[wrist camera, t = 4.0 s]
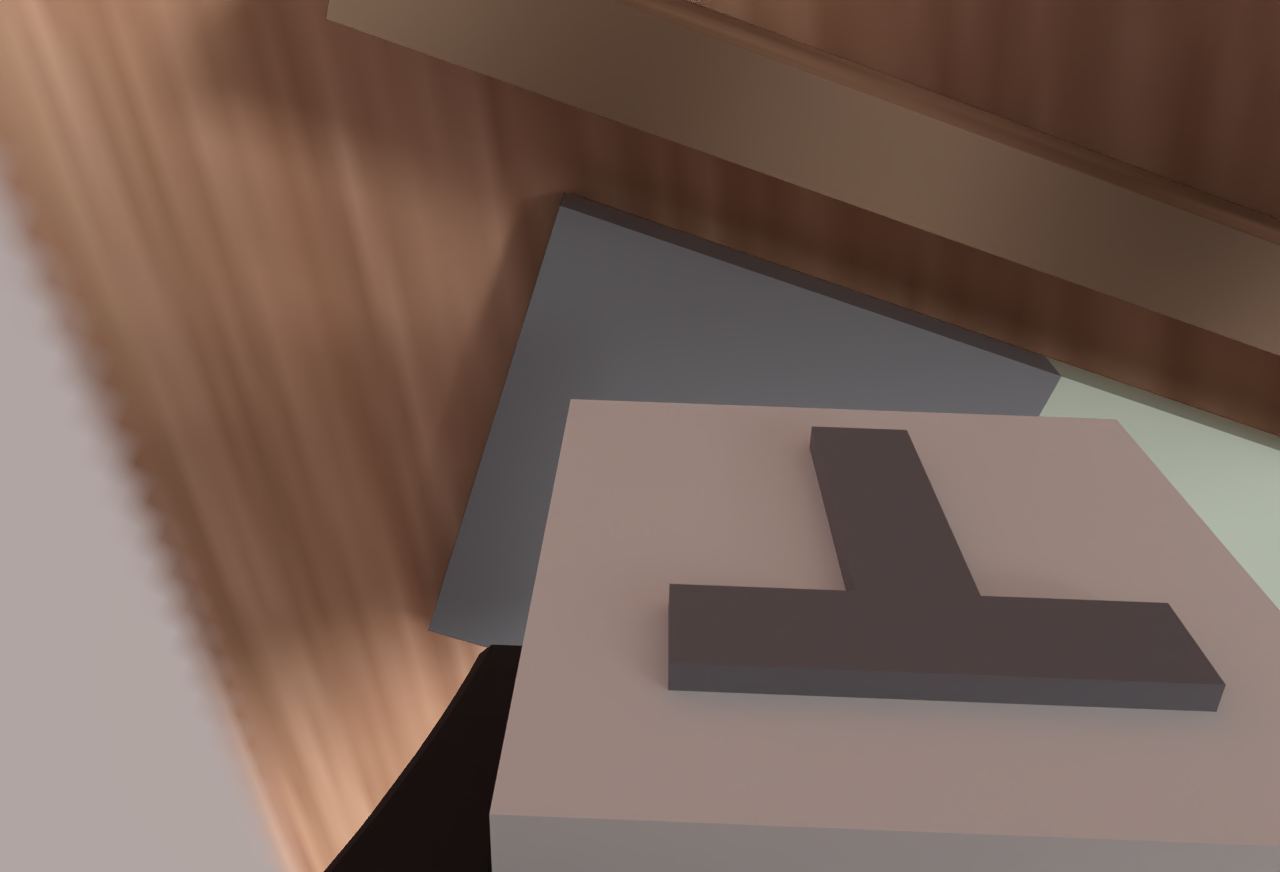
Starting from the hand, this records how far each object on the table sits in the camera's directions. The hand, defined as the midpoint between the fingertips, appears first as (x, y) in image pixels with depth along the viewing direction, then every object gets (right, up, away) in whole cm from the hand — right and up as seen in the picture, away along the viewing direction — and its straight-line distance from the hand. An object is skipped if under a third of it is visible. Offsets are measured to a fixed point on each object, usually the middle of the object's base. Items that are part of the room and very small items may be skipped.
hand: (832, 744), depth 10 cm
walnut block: (+5, +6, +6) cm, 10 cm away
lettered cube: (0, +1, +1) cm, 2 cm away
